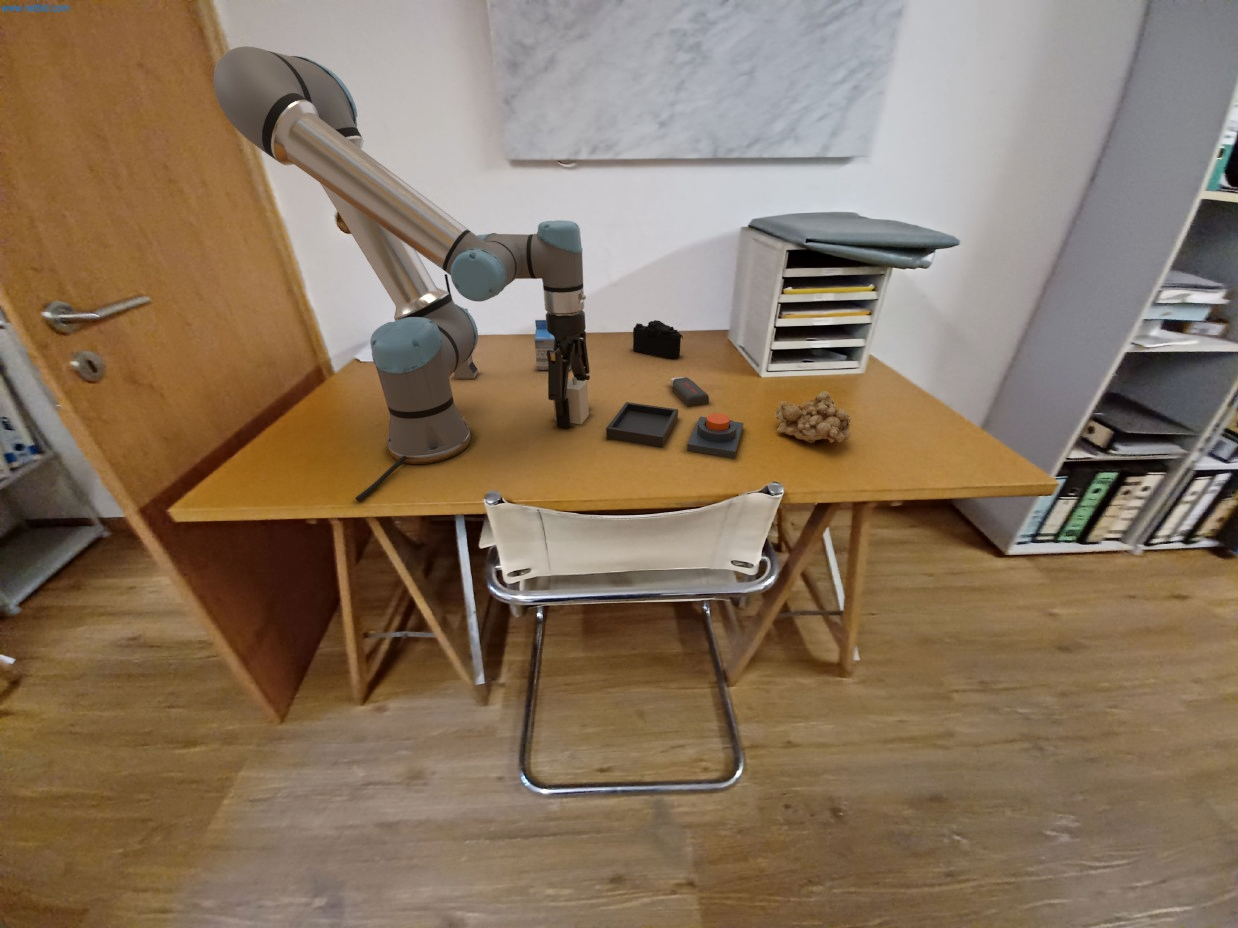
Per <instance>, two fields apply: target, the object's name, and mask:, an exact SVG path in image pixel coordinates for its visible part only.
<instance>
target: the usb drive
mask: <svg viewBox="0 0 1238 928" xmlns="http://www.w3.org/2000/svg"><path fill="white" fill-rule="evenodd" d="M670 386H671V392H672V393H673V395H674V396H676V397H677V399H678V400H680V401H681V403H683V404H684V406H686V407H687V408H691V407H697V406H704V405H709V403H710V396H709V394H708V393H707V392H705V391H704V390H703V389H702V388H701V387H700V385H698V384H697V383H696V382H695V381H693V380H691V378H689V377H687V376H685V377H684V376H679V377H672V378H670Z"/></svg>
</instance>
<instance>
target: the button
mask: <svg viewBox="0 0 1238 928" xmlns="http://www.w3.org/2000/svg"><path fill="white" fill-rule="evenodd" d="M706 417H707V419H706V427H707V428H708V429H710V430H713V431H726V430H727V429H728V428H729V421H730V420H731V419H730V417H729V416H728V415H726V414H723V413H720V412H719V413H716V412H715V413H710V414H708V415H707V416H706Z"/></svg>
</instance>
